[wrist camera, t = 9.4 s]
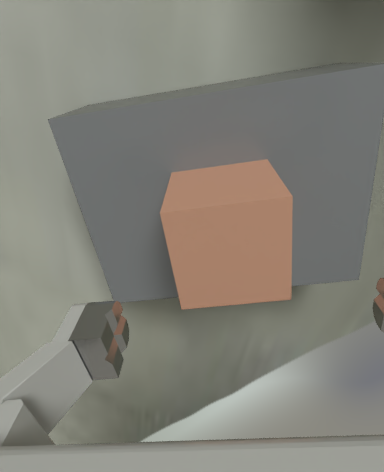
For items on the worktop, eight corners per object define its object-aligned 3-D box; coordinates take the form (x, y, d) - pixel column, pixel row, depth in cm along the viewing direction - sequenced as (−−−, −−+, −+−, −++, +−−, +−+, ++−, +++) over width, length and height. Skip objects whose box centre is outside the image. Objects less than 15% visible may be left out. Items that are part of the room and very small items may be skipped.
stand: (338, 63, 18) (391, 62, 13) (325, 233, 24) (358, 279, 19) (88, 105, 20) (47, 119, 15) (132, 255, 26) (114, 303, 21)
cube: (267, 159, 15) (292, 196, 11) (269, 242, 18) (291, 299, 13) (171, 172, 16) (159, 213, 12) (186, 251, 18) (181, 309, 14)
